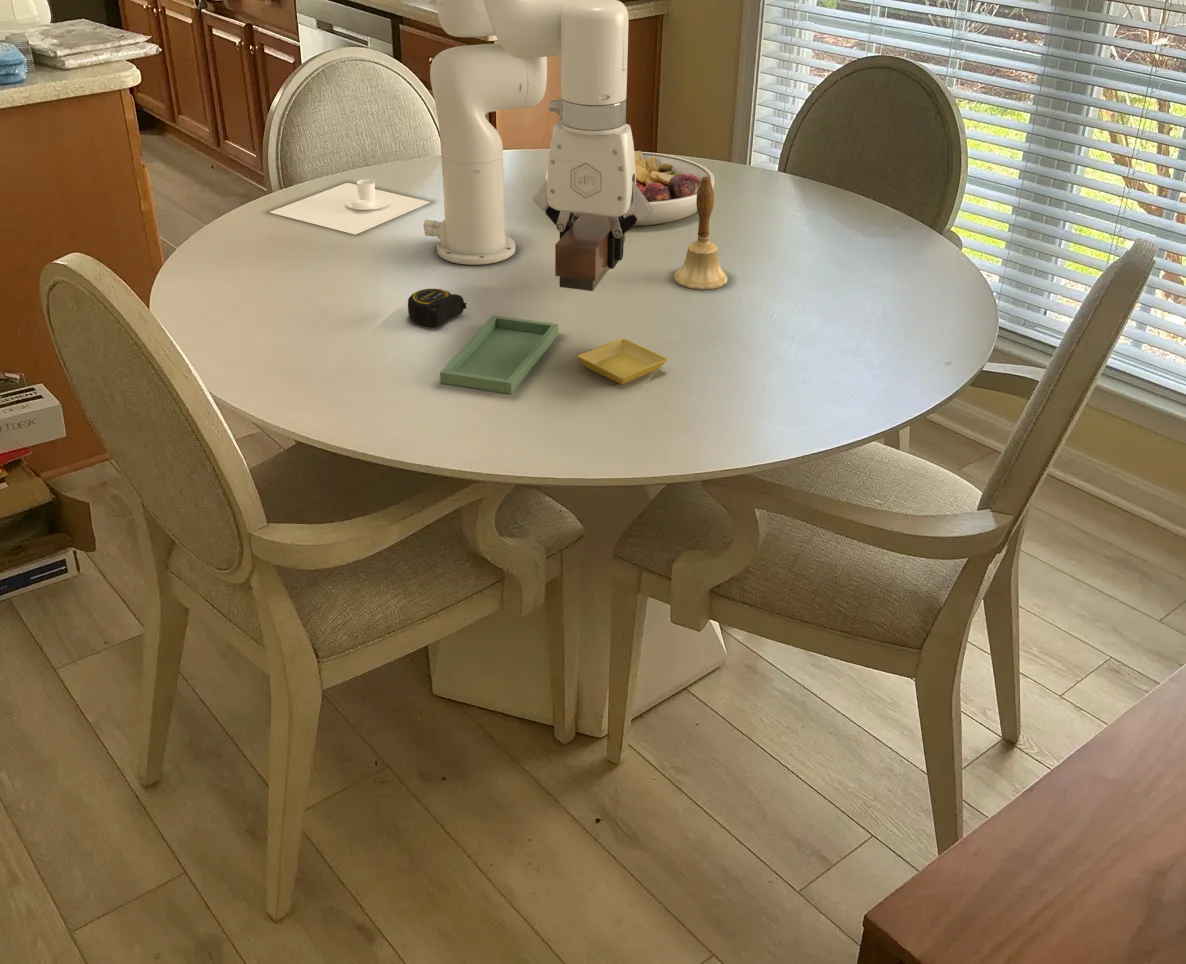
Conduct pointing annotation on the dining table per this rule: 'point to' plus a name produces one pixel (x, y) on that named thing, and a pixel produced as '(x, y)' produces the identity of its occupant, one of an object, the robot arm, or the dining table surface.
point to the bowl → (666, 186)
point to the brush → (583, 253)
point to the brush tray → (500, 354)
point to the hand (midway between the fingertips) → (591, 260)
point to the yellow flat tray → (622, 360)
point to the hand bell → (702, 249)
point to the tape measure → (434, 307)
